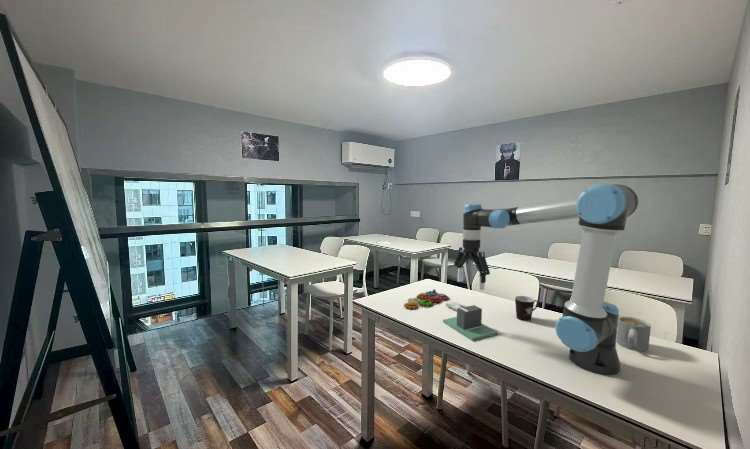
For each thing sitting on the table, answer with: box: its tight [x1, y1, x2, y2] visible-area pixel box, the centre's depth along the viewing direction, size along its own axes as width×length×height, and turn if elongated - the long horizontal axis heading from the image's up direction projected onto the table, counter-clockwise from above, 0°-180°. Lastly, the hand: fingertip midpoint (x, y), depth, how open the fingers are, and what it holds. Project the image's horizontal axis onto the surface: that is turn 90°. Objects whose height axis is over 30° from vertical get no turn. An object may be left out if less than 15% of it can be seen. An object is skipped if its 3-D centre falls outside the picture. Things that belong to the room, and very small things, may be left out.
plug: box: [456, 304, 483, 330], centre depth 138 cm, size 5×10×8 cm, turn 114°
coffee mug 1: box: [514, 295, 540, 322], centre depth 148 cm, size 12×9×10 cm
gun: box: [445, 300, 468, 312], centre depth 157 cm, size 18×3×10 cm
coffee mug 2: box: [616, 316, 652, 353], centre depth 121 cm, size 13×10×10 cm
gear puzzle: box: [403, 288, 451, 310], centre depth 172 cm, size 31×16×4 cm, turn 131°
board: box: [442, 316, 498, 342], centre depth 138 cm, size 20×14×5 cm
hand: (470, 285), depth 136 cm, fingers open, 13 cm apart
